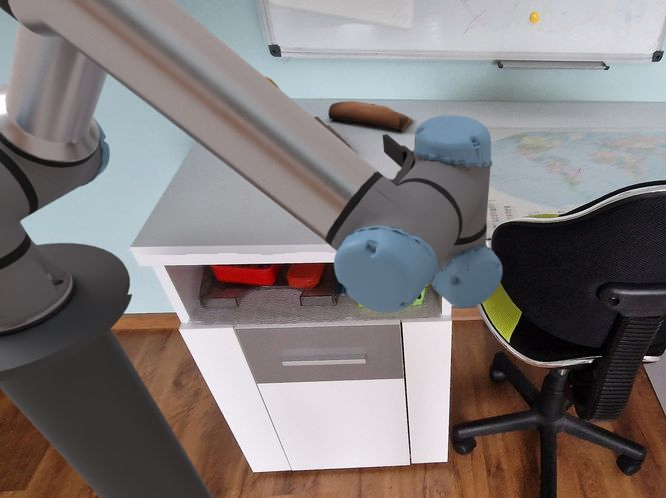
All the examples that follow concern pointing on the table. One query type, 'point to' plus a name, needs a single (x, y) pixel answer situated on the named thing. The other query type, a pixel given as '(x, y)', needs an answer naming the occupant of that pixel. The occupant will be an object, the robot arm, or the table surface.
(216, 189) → the table surface
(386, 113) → the sunglasses case
